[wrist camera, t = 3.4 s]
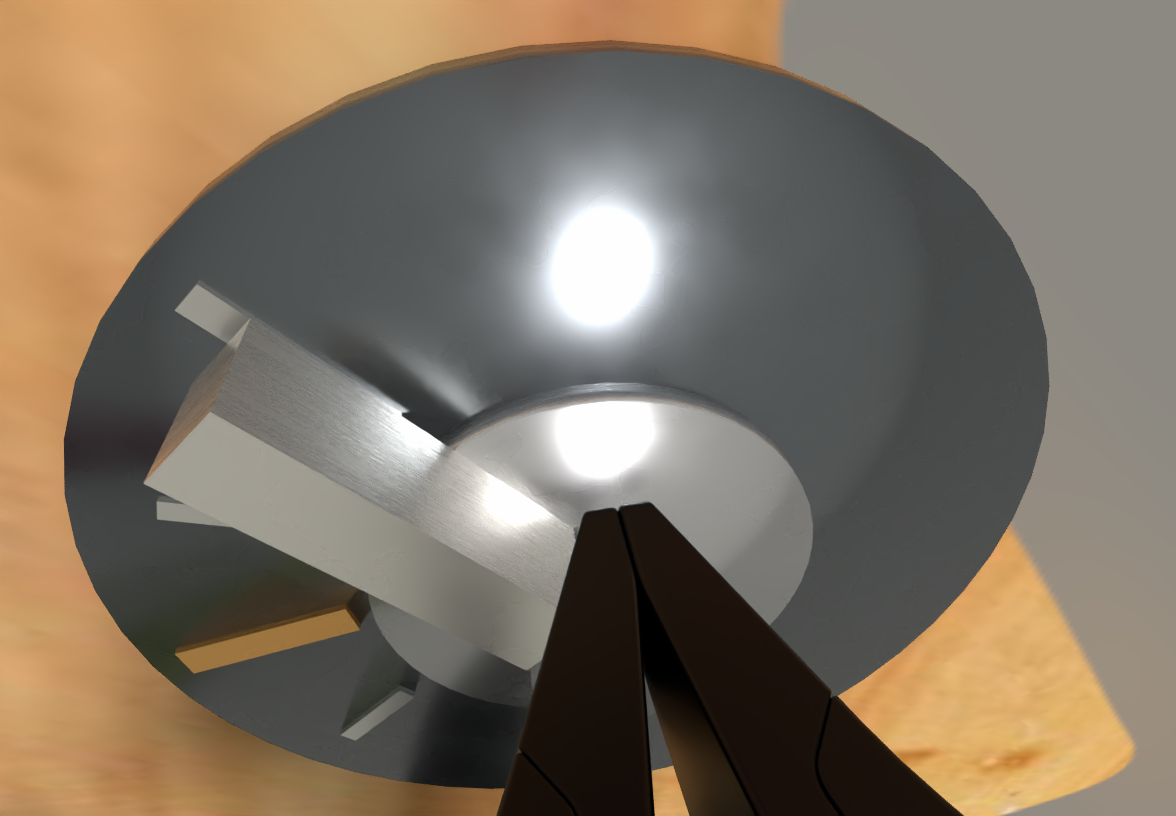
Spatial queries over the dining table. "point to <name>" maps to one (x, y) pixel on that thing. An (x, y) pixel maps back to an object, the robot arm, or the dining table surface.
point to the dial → (475, 498)
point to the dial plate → (567, 357)
